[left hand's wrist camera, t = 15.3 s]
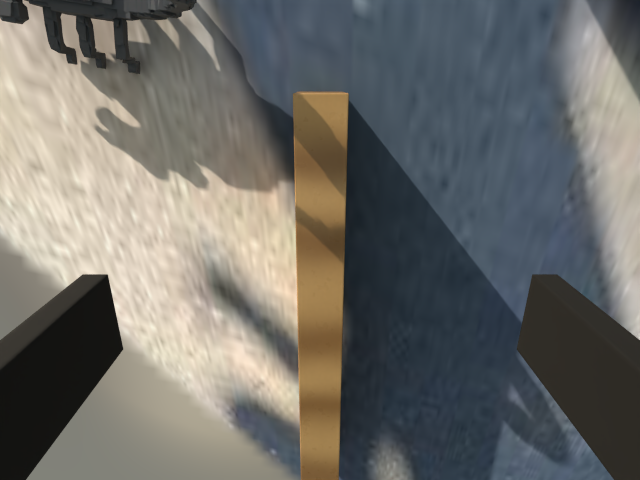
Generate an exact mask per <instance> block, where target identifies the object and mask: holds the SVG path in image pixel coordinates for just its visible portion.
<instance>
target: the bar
mask: <svg viewBox="0 0 640 480" xmlns="http://www.w3.org/2000/svg"><path fill="white" fill-rule="evenodd" d="M348 101H349V94H348V93H345V92H297V93H294V94H293V115H294V164H295V212H296V260H297V308H298V356H299V404H300V452H301V480H339V451H340V412H341V373H342V334H343V296H344V257H345V218H346V179H347V140H348Z"/></svg>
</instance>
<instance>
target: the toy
mask: <svg viewBox="0 0 640 480" xmlns="http://www.w3.org/2000/svg"><path fill="white" fill-rule="evenodd" d="M26 1H29V3H30V4H33V5H37V6H41V7H43V14H44V21H45V27H46V32H47V37H48V42H49V44H50V47H51V49H53V50H55V51H57V52H58V53H62V54H66V57H67V61H68V63H71V64H77V57H76V51H75V49H73V48H70V47H66V45H65V44H64V41H63V35H62V24H61V18H60V16H61V14H62V13H63V14H67V15H74V16H76V30H77V32H78V34H79V42H80V48H81V50H82V53H83V55H84V57H89V58H95V59H96V65H97V68H105V69H106V62H105V53H99V52H96V49H95V40H94V31H93V24H92V21H91V19H90V18H93V19H100V20H107V21H114V36H115V49H116V58H117V59H123V61H122V63H127V64H128V71H129V72H132V73H139V74H140V62H139V61H135V58H132V57H129V47H128V32H127V21H126V20H131V21H133V20H139V19H151V20H164V19H167V18H168V17H173V18H178V17H181V15H182V12H183V11H187V10H190V9H192V8H193V7H194V4H195V3H196V0H26ZM0 18H1V20H2V21H7V22H12V23H18V24H23V23H24V22H25V21H27V20H28V19H29V16H28V10H27V7H26V6H25V5H24V4H23V2H22V0H0Z"/></svg>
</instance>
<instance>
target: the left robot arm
mask: <svg viewBox="0 0 640 480" xmlns="http://www.w3.org/2000/svg"><path fill="white" fill-rule="evenodd" d="M122 350H123V346H122V341H121V336H120V331H119V327H118V322H117V317H116V312H115V308H114V303H113V298H112V293H111V288H110V284H109V279H108V275H82V276H80V277H79V278H78V279H77V280H75V281H74V282H73V283H72V284H70V285H69V286H68V287H67V288H65V289H64V290H63V291H62V292H60V293H59V294H58V295H57V296H55V297H54V298H53V299H52V300H50V301H49V302H48V303H47V304H45V305H44V306H43V307H42V308H40V309H39V310H38V311H36V312H35V313H34V314H33V315H32V316H30V317H29V318H28V319H27V320H25V321H24V322H23V323H21V324H20V325H19V326H18V327H16V328H15V329H14V330H13V331H11V332H10V333H9V334H8V335H6V336H5V337H4V338H3V339H1V340H0V480H26V479H27V477H28V476H29V475H30V473H31V472H32V471H33V469H34V468H35V467H36V465H37V464H38V463H39V461H40V460H41V459H42V457H43V456H44V455H45V453H46V452H47V451H48V449H49V448H50V447H51V445H52V444H53V443H54V441H55V440H56V439H57V437H58V436H59V435H60V433H61V432H62V431H63V429H64V428H65V427H66V425H67V424H68V423H69V421H70V420H71V419H72V417H73V416H74V414H75V413H76V412H77V410H78V409H79V408H80V406H81V405H82V404H83V402H84V401H85V400H86V398H87V397H88V396H89V394H90V393H91V392H92V390H93V389H94V388H95V386H96V385H97V384H98V382H99V381H100V380H101V378H102V377H103V376H104V374H105V373H106V372H107V370H108V369H109V368H110V366H111V365H112V364H113V362H114V361H115V360H116V358H117V357H118V356H119V354H120V353H121V351H122ZM517 350H518V352H519V353H520V354H521V356H522V357H523V358H524V360H525V361H526V362H527V364H528V365H529V366H530V368H531V369H532V370H533V372H534V373H535V374H536V376H537V377H538V378H539V380H540V381H541V382H542V384H543V385H544V386H545V388H546V389H547V390H548V392H549V393H550V394H551V396H552V397H553V398H554V400H555V401H556V402H557V404H558V405H559V406H560V408H561V409H562V410H563V412H564V413H565V414H566V416H567V417H568V419H569V420H570V421H571V423H572V424H573V425H574V427H575V428H576V429H577V431H578V432H579V433H580V435H581V436H582V437H583V439H584V440H585V441H586V443H587V444H588V445H589V447H590V448H591V449H592V451H593V452H594V453H595V455H596V456H597V457H598V459H599V460H600V461H601V463H602V464H603V465H604V467H605V468H606V469H607V471H608V472H609V473H610V475H611V476H612V477H613V479H614V480H640V340H639V339H637V338H636V337H635V336H634V335H632V334H631V333H630V332H629V331H627V330H626V329H625V328H624V327H622V326H621V325H620V324H619V323H617V322H616V321H615V320H614V319H612V318H611V317H610V316H609V315H607V314H606V313H605V312H604V311H602V310H601V309H600V308H598V307H597V306H596V305H595V304H593V303H592V302H591V301H590V300H588V299H587V298H586V297H585V296H583V295H582V294H581V293H580V292H578V291H577V290H576V289H575V288H573V287H572V286H571V285H570V284H568V283H567V282H566V281H565V280H563V279H562V278H561V277H560V276H558V275H532V279H531V284H530V288H529V293H528V298H527V303H526V308H525V312H524V317H523V322H522V327H521V331H520V336H519V341H518V346H517Z"/></svg>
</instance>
